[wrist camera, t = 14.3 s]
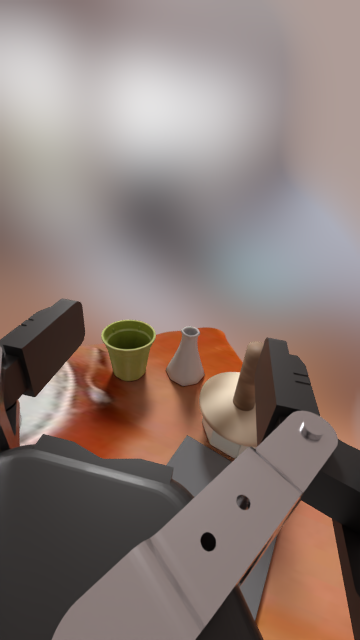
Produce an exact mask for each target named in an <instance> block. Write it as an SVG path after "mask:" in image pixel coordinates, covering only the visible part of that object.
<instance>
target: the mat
mask: <svg viewBox="0 0 360 640" xmlns="http://www.w3.org/2000/svg"><path fill="white" fill-rule="evenodd" d="M231 463H232V462H231V461H229V460H228V459H226V458H224V457H223V456H221V455H219V454H218V453H216V452H214V451H213V450H211V449H209V448H208V447H206V446H204V445H203V444H201V443H199V442H198V441H196V440H194V439H193V438H191V437H189V436H188V435H187V436H186V438H185V439H184V441H183V442H182V444H181V445H180V446H179V448H178V449H177V451H176V452H175V454H174V455H173V456H172V458H171V459H170V461H169V462H168V464H167V465H166V466H170V467H174V468H173V475H172V479H174V480H175V481H177V482H179V483H180V484H181V485H183V486H184V487H185V488H186V489H187V490H188V491H189V492H190V493H191V494H192V495H193V496H194V497H196V496H197V495H198V494H199V493H200V492H201V491H202V490H203V489H204V488H205V487H206V486H207V485H208V484H209V483H210V482H212V481H213V480H214V479H215V478H216V477H217V476H218V475H219V474H220V473H221V472H222V471H223V470H224V469H225V468H226V467H227V466H228V465H230V464H231ZM276 538H277V535H276V536H275V538H274V539H273V541H272V542H271V544H270V545H269V546H268V548H267V549H266V551H265V552H264V554H263V555H262V557H261V558H260V560H259V561H258V562H257V564H256V565H255V567H254V568H253V570H252V571H251V572H250V574H249V575H248V577H247V578H246V579H245V581H244V582H243V584H242V585H241V586H240V590H241V592H242V594H243V596H244V598H245V601H246V603H247V605H248V607H249V609H250V611H251V614H252V616H253V618H254V620H255V619H256V615H257V611H258V607H259V603H260V600H261V596H262V592H263V588H264V584H265V580H266V576H267V573H268V569H269V565H270V561H271V557H272V553H273V549H274V545H275V542H276Z"/></svg>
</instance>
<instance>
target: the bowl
mask: <svg viewBox="0 0 360 640" xmlns="http://www.w3.org/2000/svg"><path fill="white" fill-rule="evenodd" d="M202 423H203V426H204V429H205V431H206V434H207V437H208V440H209V443H210V445H212V446H214V447H215V448H217V449H219V450H220V451H222V452H224V453H226V454H227V455H229V456H231V457H232V458H234V459H236V458H237V457H238V456H239V455H240V454H241V453H242V452H243V451H244V450H246V449H247V448H249V446H243V445H239V444H236V443H233V442H230V441H228V440H227V439H225V438H223V437H221V436H220V435H218V434H217V433H216V432H215V431H214V430H213V429H212V428H211V427H210V426H209V425H208V424H207V423H206V421H205V420H204V418H203V419H202ZM253 448H254V449H255V448H256V447H253Z"/></svg>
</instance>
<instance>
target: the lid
mask: <svg viewBox="0 0 360 640" xmlns="http://www.w3.org/2000/svg"><path fill="white" fill-rule="evenodd" d="M263 345H264V343H262V342H251V343H249V344H248V347H247V350H246V354H245V357H244V361H243V365H242V368H241V372H240V373H239V372H226V373H221V374H218V375H215V376H213V377H211V378H210V379H209V380H207V381H206V382H205V384H204V385H203V387H202V389H201V393H200V398H199V406H200V411H201V414H202V416H203V418H204V420H205V421H206V423H207V424H208V425H209V426H210V427H211V428H212V429H213V430H214V431H215V432H216V433H217V434H218V435H220V436H221V437H223V438H225V439H227V440H228V441H230V442H233V443H236V444H239V445H243V446H249V447H257V430H256V406H255V383H254V379H255V371H256V367H257V364H258V360H259V357H260V354H261V351H262V348H263Z"/></svg>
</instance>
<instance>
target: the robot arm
mask: <svg viewBox="0 0 360 640" xmlns="http://www.w3.org/2000/svg"><path fill="white" fill-rule="evenodd" d="M84 336H85V327H84V318H83V309H82V304H81V303H80V302H78V301H73V300H67V299H61V300H59V301H58V302H57V303H55V304H54V305H53V306H51V307H49V308H46V309H44V310H41V311H39V312H37V313H35V314H34V315H33V316H31V317H30V318H29V319H28V320H26V321H25V322H23V323H22V324H21V325H19V326H18V327H17V328H15V329H14V330H13V331H11V332H10V333H9V334H7V335H6V336H5V337H3V338H2V339H1V340H0V640H263V638H262V635H261V633H260V631H259V629H258V627H257V625H256V622H255V620H254V618H253V616H252V614H251V611H250V609H249V607H248V605H247V603H246V601H245V598H244V596H243V594H242V592H241V590H240V586H241V585H242V584H243V582H244V581H245V579H246V578H247V577H248V575H249V574H250V572H251V571H252V570H253V568H254V567H255V565H256V564H257V562H258V561H259V560H260V558H261V557H262V555H263V554H264V552H265V551H266V549H267V548H268V546H269V545H270V544H271V542H272V541H273V539H274V538H275V536H276V535H277V534H278V532H279V531H280V529H281V528H282V527H283V525H284V524H285V522H286V521H287V520H288V518H289V517H290V515H291V514H292V513H293V511H294V510H295V508H296V507H297V505H298V504H299V503H300V501H301V500H302V501H303V502H305V503H307V504H309V505H310V506H312V507H314V508H315V509H317V510H319V511H320V512H322V513H324V514H325V515H327V516H329V517H330V518H332V521H333V527H334V532H335V537H336V543H337V548H338V554H339V559H340V564H341V570H342V575H343V580H344V586H345V591H346V597H347V602H348V607H349V613H350V618H351V623H352V629H353V634H354V639H355V640H360V450H358V449H356V448H353V447H352V446H349V445H347V444H346V443H344V442H342V441H340V440H339V439H338V438H337V434H336V432H335V430H334V429H333V428H332V426H331V425H330V424H329V423H328V422H326V421H325V420H324V419H323V418H322V417H320V414H319V410H318V407H317V403H316V400H315V397H314V393H313V390H312V387H311V383H310V379H309V377H308V373H307V369H306V366H305V364H304V363H303V362H302V361H301V360H300V358H299V357H298V356H295V355H290V354H289V351H288V347H287V342H286V341H283V340H277V339H272V338H266V339H265V342H264V345H263V348H262V351H261V354H260V357H259V360H258V364H257V367H256V371H255V379H254V383H255V406H256V430H257V447H256V448H255V449H254V448H253V447H249V448H247V449H246V450H244V451H243V452H242V453H241V454H240V455H239V456H238V457H237V458H236V459H235V460H234V461H233V462H232V463H231V464H230V465H228V466H227V467H226V468H225V469H224V470H223V471H222V472H221V473H220V474H219V475H218V476H217V477H216V478H215V479H214V480H213V481H212V482H210V483H209V484H208V485H207V486H206V487H205V488H204V489H203V490H202V491H201V492H200V493H199V494H198V495H197V496H196V497H194V496H193V495H192V494H191V493H190V492H189V491H188V490H187V489H186V488H185V487H184V486H183V485H181V484H180V483H179V482H177V481H175V480H174V479H172V475H173V468H174V467H170V466H166V465H162V464H158V463H154V462H150V461H146V460H143V459H103V458H100V457H98V456H96V455H95V454H93V453H91V452H90V451H88V450H86V449H85V448H83V447H81V446H80V445H78V444H76V443H75V442H72V441H68V440H64V439H61V438H57V437H53V436H49V435H45V434H43V435H42V436H41V438H40V439H39V440H38V442H37V443H36V444H33V445H24V446H20V444H19V427H20V425H21V415H20V404H19V400H18V399H19V398H20V397H21V395H22V394H23V395H28V396H32V397H36V396H37V395H38V393H39V392H40V391H41V390H42V389H43V388H44V387H45V385H46V384H47V383H48V382H49V381H50V380H51V378H52V377H53V376H54V375H55V374H56V373H57V372H58V370H59V369H60V368H61V367H62V366H63V365H64V364H65V362H66V361H67V360H68V359H69V358H70V357H71V356H72V354H73V353H74V352H75V351H76V350H77V349H78V347H79V346H80V345H81V344H82V342H83V340H84Z"/></svg>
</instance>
